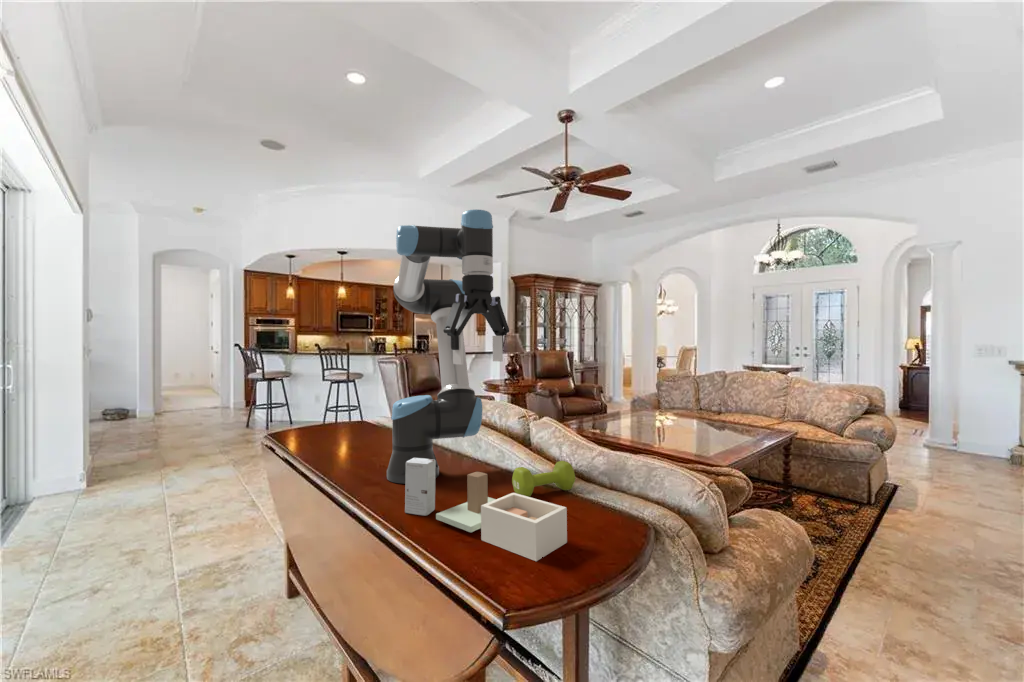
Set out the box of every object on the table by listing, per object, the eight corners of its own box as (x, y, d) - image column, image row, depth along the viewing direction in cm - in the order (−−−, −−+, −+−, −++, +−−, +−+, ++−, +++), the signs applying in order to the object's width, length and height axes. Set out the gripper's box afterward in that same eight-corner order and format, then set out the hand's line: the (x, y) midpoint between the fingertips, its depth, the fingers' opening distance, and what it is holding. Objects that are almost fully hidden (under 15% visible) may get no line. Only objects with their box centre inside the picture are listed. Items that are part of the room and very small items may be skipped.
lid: (470, 538, 95) (470, 487, 95) (436, 524, 102) (435, 477, 102) (518, 516, 106) (517, 471, 106) (483, 505, 114) (483, 463, 114)
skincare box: (404, 513, 109) (403, 461, 108) (413, 506, 113) (413, 457, 113) (427, 516, 107) (427, 463, 107) (436, 509, 111) (436, 458, 111)
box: (481, 540, 94) (480, 505, 94) (513, 524, 101) (513, 492, 101) (536, 561, 85) (535, 523, 85) (567, 542, 92) (566, 507, 92)
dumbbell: (562, 483, 130) (562, 457, 130) (578, 492, 122) (578, 464, 122) (509, 492, 123) (509, 465, 122) (523, 502, 115) (522, 473, 115)
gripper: (449, 268, 101) (450, 366, 101) (522, 278, 120) (523, 360, 120) (427, 272, 106) (428, 365, 106) (500, 280, 125) (501, 359, 125)
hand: (478, 362), depth 113 cm, fingers open, 13 cm apart
